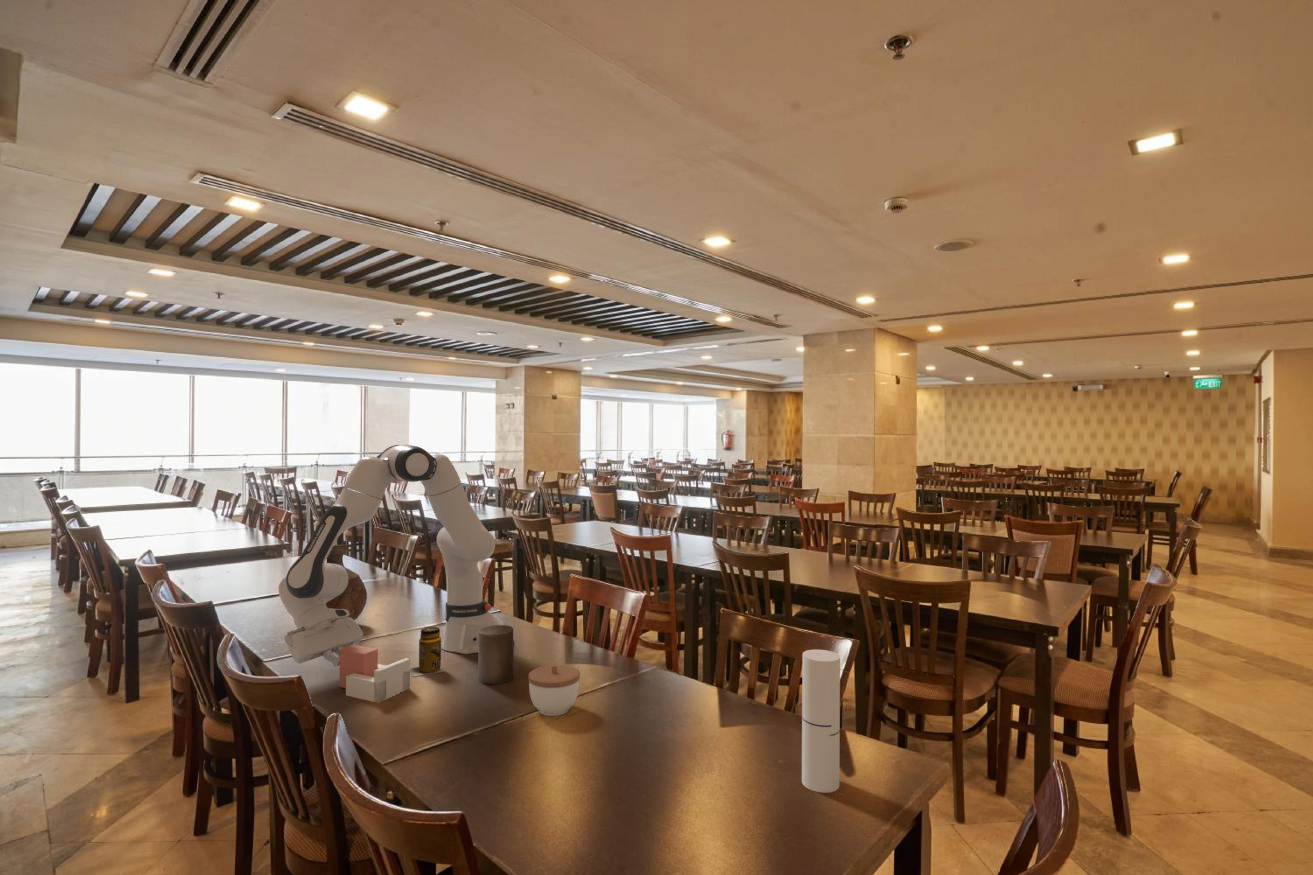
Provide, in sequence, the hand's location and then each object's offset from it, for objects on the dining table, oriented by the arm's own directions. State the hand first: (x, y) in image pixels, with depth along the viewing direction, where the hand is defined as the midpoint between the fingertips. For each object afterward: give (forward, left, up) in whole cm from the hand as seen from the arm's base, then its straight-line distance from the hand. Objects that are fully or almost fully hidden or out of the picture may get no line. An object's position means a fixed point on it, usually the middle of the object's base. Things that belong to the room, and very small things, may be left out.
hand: (341, 663), depth 180 cm
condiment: (-22, -3, -6) cm, 23 cm away
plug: (-5, +5, -5) cm, 8 cm away
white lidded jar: (-51, +37, -6) cm, 63 cm away
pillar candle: (-40, +10, -6) cm, 42 cm away
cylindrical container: (-93, +89, -5) cm, 129 cm away
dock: (-10, +10, -5) cm, 15 cm away
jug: (+8, -58, -6) cm, 59 cm away
